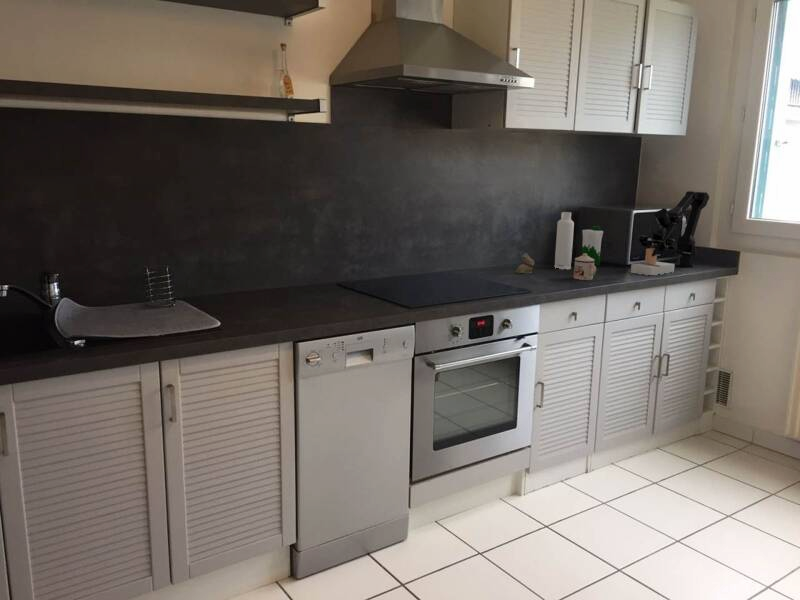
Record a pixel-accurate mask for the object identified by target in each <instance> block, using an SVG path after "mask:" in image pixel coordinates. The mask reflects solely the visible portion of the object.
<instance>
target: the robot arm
mask: <svg viewBox="0 0 800 600" xmlns="http://www.w3.org/2000/svg"><path fill="white" fill-rule="evenodd" d="M709 199H710V195H709V194H708V192H705V191H694V190H688V191H686V192H685V195H684V196H683V197H682V198H681V200H680V201H679V202H678V203H677V204H676V206H675V207H673V208H670V209H669V210H668V209H667V208H662V207H661V209H659V210H657V211H656V212H655V213H654V218H655V219H656V221H657V223H658V225H659V227H658V226H657V227H656V226H650V228H649V232H648V234H650V235H651V236H650V237H651V238H649V235H648V236H647V235H639V237H638V238H637V239H638V242H639V244H640V246H641V247H644V248H646V249H649V248H655V250H654V251H653V253H652V257H653V256H655V255H657V256H658V254H660V253H662V252H664V251H667V250H668V248H669V250H670V251H676V254H677V255H678V254H679V255H678V257H677V263H676V266H678V267H684V268H685V267H686V268H689V267H690V268H691V267H692V268H693V267H694V266H695V265H693V263H694V256H697V254H698V249H697V247H696V240H695V232H696V229H697V226H698V223H699V219H700V216H701V212H702V210H703V209H704V208H705V207H706V206H707V205H708V202H709ZM690 207H691V209H690V212H689V214H688V218H687V221H686V225H685V228H684V232H683V234H682V235H679V236H678V238H677V242H676V239H674V238H670V235H671V233H672V232H676V226H675V225H676V224H680V223H681V222H682V220H683V219H684V213H685V212H686V210H688V208H690ZM654 245H656V247H655V246H654Z"/></svg>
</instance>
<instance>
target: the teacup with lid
mask: <svg viewBox="0 0 800 600" xmlns="http://www.w3.org/2000/svg"><path fill="white" fill-rule="evenodd" d="M594 262H595V260H594V259H592V258H590V257H589V256H587V254H585V253H584V254H583V256H582V255H580V256H578V257H575V258H574V267H573V279H575V280H578V279H579V280H580V281H591V280H593V279H594V275H595V274H596V272H597V267H596V266H595V265H594Z"/></svg>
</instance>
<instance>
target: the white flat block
mask: <svg viewBox="0 0 800 600" xmlns="http://www.w3.org/2000/svg"><path fill="white" fill-rule="evenodd" d="M675 264H676V263H669V262H662V261H657V260H656V264H647V263H645V262H638V263H633V264H631V266H630V273H632V274H636V273H637V274H638V275H642V274H644V275H643V276H648V275H654V276H659V275H658V274H660V275H665V274H664V273H666V274H671V273H670V272H672V273H674V272H675V266H676V265H675ZM637 274H636V275H637Z"/></svg>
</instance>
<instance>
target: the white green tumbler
mask: <svg viewBox="0 0 800 600" xmlns="http://www.w3.org/2000/svg"><path fill="white" fill-rule="evenodd" d="M591 228H592V229H582V231H581V232H582V244H581V245H582V247H581V256H583V254H584V253H585V254H587V256H589V257H590V258H592V259H594V260H595V262H594V265H596V266H600V265H601V251H602V250H601V247H602V238H603V234H604V230H601V226H599V225H593V226H592V227H591Z"/></svg>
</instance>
